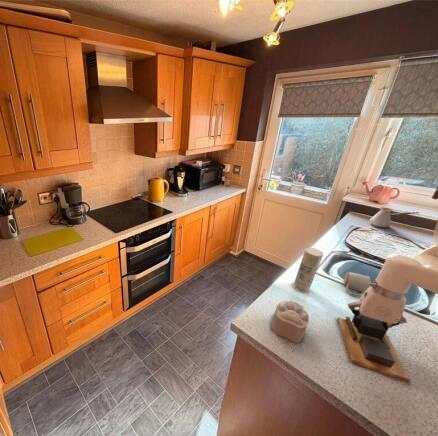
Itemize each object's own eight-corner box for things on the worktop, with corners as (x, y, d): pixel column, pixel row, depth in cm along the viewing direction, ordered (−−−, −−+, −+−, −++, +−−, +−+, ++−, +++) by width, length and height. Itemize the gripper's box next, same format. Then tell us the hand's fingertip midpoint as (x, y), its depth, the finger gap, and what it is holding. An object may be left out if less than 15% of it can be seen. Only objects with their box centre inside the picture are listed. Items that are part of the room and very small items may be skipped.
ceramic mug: (341, 280, 112) (347, 267, 109) (363, 287, 108) (370, 274, 105) (342, 292, 105) (348, 279, 101) (366, 300, 100) (373, 287, 97)
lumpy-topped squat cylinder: (269, 330, 86) (274, 313, 83) (275, 308, 96) (280, 292, 92) (301, 345, 81) (309, 328, 77) (304, 320, 91) (311, 304, 87)
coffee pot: (367, 225, 168) (375, 206, 161) (369, 220, 175) (377, 202, 168) (409, 235, 154) (420, 215, 147) (409, 230, 161) (420, 210, 154)
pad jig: (383, 333, 86) (388, 325, 84) (408, 381, 70) (415, 373, 68) (337, 319, 91) (341, 311, 89) (351, 362, 76) (355, 353, 74)
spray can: (312, 289, 107) (326, 253, 98) (304, 294, 104) (318, 257, 95) (297, 281, 112) (309, 246, 103) (290, 286, 109) (302, 250, 100)
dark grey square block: (374, 325, 85) (379, 317, 84) (381, 339, 80) (386, 331, 78) (352, 319, 88) (356, 311, 86) (358, 332, 82) (362, 324, 81)
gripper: (359, 289, 77) (340, 327, 84) (431, 306, 70) (404, 346, 77) (352, 276, 83) (335, 312, 90) (418, 290, 76) (394, 329, 83)
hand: (367, 327), depth 84 cm, fingers closed on dark grey square block, 6 cm apart
